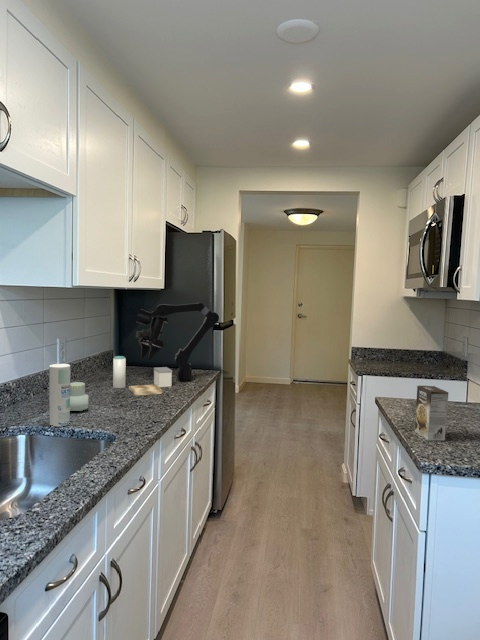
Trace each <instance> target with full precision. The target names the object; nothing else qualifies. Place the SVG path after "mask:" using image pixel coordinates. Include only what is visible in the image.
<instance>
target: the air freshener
mask: <svg viewBox="0 0 480 640" xmlns="http://www.w3.org/2000/svg"><path fill="white" fill-rule="evenodd" d="M87 409H89V394H87V393H86V383H85V382H80V381H76V382H75V381H74V382H70V411H80V412H84V411H86V410H87ZM83 410H84V411H83Z"/></svg>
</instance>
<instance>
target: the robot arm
mask: <svg viewBox="0 0 480 640" xmlns="http://www.w3.org/2000/svg"><path fill="white" fill-rule="evenodd" d="M197 311H198V312H200V313H201V315H204V316H205V317H204V320H203V321H202V324H201V326H200V327H199V328H198V330H197V331H196V333H195V334H194V335H193V337H192V338H191V339H190V341H189V342H188V343H187V344H186V346H185V347H184V348H183V349H182V348H179V349H178V351H177V353H175V356H174V362H175V364H176V366H178V368H177V370H176V381H178V382H180V383H184V382H193V379H192V373H193V372H192V371H193V370H192V369H193V368H192V365H191V363H190V361H189V359H190V356H191V355H192V352H194V350H195V348H196V347H197V346H198V344H199V343H200V342H201V341H202V340H203V338H204V336H205V335H206V334H207V333H208V331H209V330H210V329H211V328H213V327H214V326H215V325H216V324H217V323H218V322H219V320H220V316H219V314H218V313H216V312H215V311H211V310H210V309H209V308H208V307H206V306H205V305H204V304H203V303H202V302H196V303H185V304H176V305H175V304H165V303H162V304H158V305H157V306H156V309H155V310H153V311H151V312H150V311H147V310H144V309H143V308H140V310H139V312H138V314H137V318H136V320H135V323H138V324H140V325H143V326H148V325H150V327H149V328H147V329H142V330H139V331H138V330H137V331H135V338H136V339H138V343H139V345H140V347H141V351H140V358H141V359H144V358H145V356H146V355H147V354H148V356H147V357H148V358H147V360H149V361H151V360H152V358H154V356H155V355H156V354H158V352H159V351H161V350H162V349H163V348H164V346H165V343H164V341H162V340H159V339H160V336H161V335H162V334H163V332H162V330H163V327H164V323H165V324H168V323H169V320H168V317H167V316H169V315H173V314H175V313H177V314H178V313H185V312H197ZM157 316H158V317H157ZM148 352H149V353H148Z"/></svg>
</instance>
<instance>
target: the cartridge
mask: <svg viewBox="0 0 480 640" xmlns="http://www.w3.org/2000/svg"><path fill="white" fill-rule="evenodd" d="M112 361H113V362H112V363H113V364H112V388H113V389H123V388H126V368H127V367H126V365H127V362H126V361H127V359H126V357H125V356H123V355H116V356H114V357H113V360H112Z"/></svg>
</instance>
